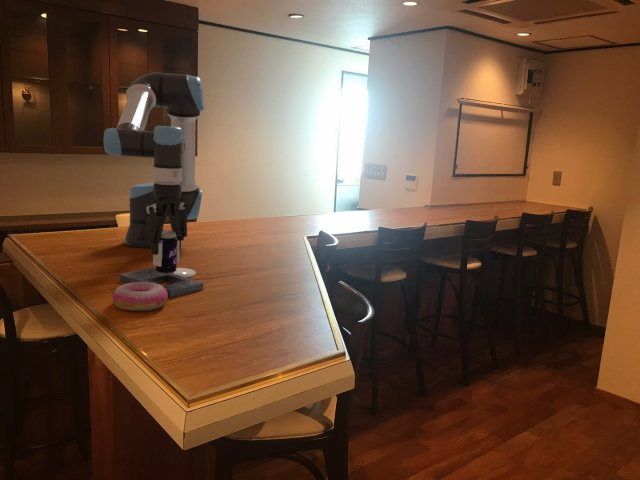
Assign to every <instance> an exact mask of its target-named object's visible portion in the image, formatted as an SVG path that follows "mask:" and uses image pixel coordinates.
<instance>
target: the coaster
mask: <svg viewBox="0 0 640 480" xmlns="http://www.w3.org/2000/svg"><path fill="white" fill-rule="evenodd" d="M173 274H176V275H179V276H182V277H186V278H192V277H194V276H196V271H195V270H194V269H192V268H186V267H176V271H175V272H174V273H173Z"/></svg>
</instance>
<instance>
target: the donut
mask: <svg viewBox="0 0 640 480" xmlns="http://www.w3.org/2000/svg"><path fill="white" fill-rule="evenodd" d="M163 286H164V285H163ZM163 286H162V284H161V283H158V284H157V283H152V282H134V283H128V284H127V283H125V284H123V285H120V286H118V287H117V288H116V289H115V290H114V292H113V293H112V301H113V304H114V305H115V307H118V308H119V309H121V310H125V311H129V312H149V311H154V310H157V309H159V308H162V306H163V305H164V304H166V302H167V300H168V299H169V298H168V293H167V291H166V289H165V288H164V287H163Z"/></svg>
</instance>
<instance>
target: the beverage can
mask: <svg viewBox="0 0 640 480" xmlns="http://www.w3.org/2000/svg"><path fill="white" fill-rule="evenodd" d="M159 243H161V244H162V266H160V267H159V266H156V265H155V268H156V271H157V272H158V273H159V274H161V275H171V274H173V273H174V272H175V271H176V268H177V236H176V232H174V231H172V230H163V231H162V234H161V238H160V242H159Z"/></svg>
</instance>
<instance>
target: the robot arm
mask: <svg viewBox="0 0 640 480" xmlns="http://www.w3.org/2000/svg"><path fill="white" fill-rule="evenodd" d="M204 98H205V97H204V88H203V82H202V80H201V78H200V77H199V76H194V75H189V74H180V73H168V72H167V73H165V72H150V73H146V74H143V75H141V76H139V77H138V78H136V79H134V81H132V82H131V83H130V84H129V86H128V88H127V90H126V92H125V100H126V103H125V105H124V107H123V110H122V112H121V116H120V118H119V121H118V123H117V126H116V128H115V127H112V128H111V127H109V128H106V129H105V130H104V131H103V132H104V133H103V147H104V148H103V149H104V152H105V153H106V154H107V155H110V156H111V155H112V156H118V157H135V158H137V157H139V158H149V159H150V158H151V159H153V170H152V171H153V172H152V173H153V177H152V180H153V181H154V182H150V183H149V182H148V183H139V184H134V185H132V186H131V187H130V190H129V198H128V199H129V225H128V228H127V230H126V235H125V236H124V245H126V246H128V247H133V248H151V250H150V253H151V255H152V259H153V260H152V265H153V266H155V267H156V266H159V267H160V266H162V244H161V243H159V242H160V238H161V234H162V231H164V224H165V222H166V220H167V219H169V223H170V228H171V231H174V232H176V236H177V263H180V251H181V249H182V241H184V240H185V238H186V237H187V236H188V219H189V220H192V219H193V220H195V219H197V218H198V217H199V214H200V211H201V210H200V209H201V204H202V196H203V189H201V188H199V187H200V185H199V183H198V182H197V181H196V120H197V119H198V118H199V117H200V116H201V112H203V111H205V99H204ZM153 108H162V109H163V108H164V109H165V110H166V113H165V114H167V116H168V117H169V118H170V125H156V126H155V127H154V130H152V131H151V130H150V131H149V130H148V131H147V130H146V129H145V128H146V125H147V122H148V118H149V116H150V112H151V110H152V109H153Z"/></svg>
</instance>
